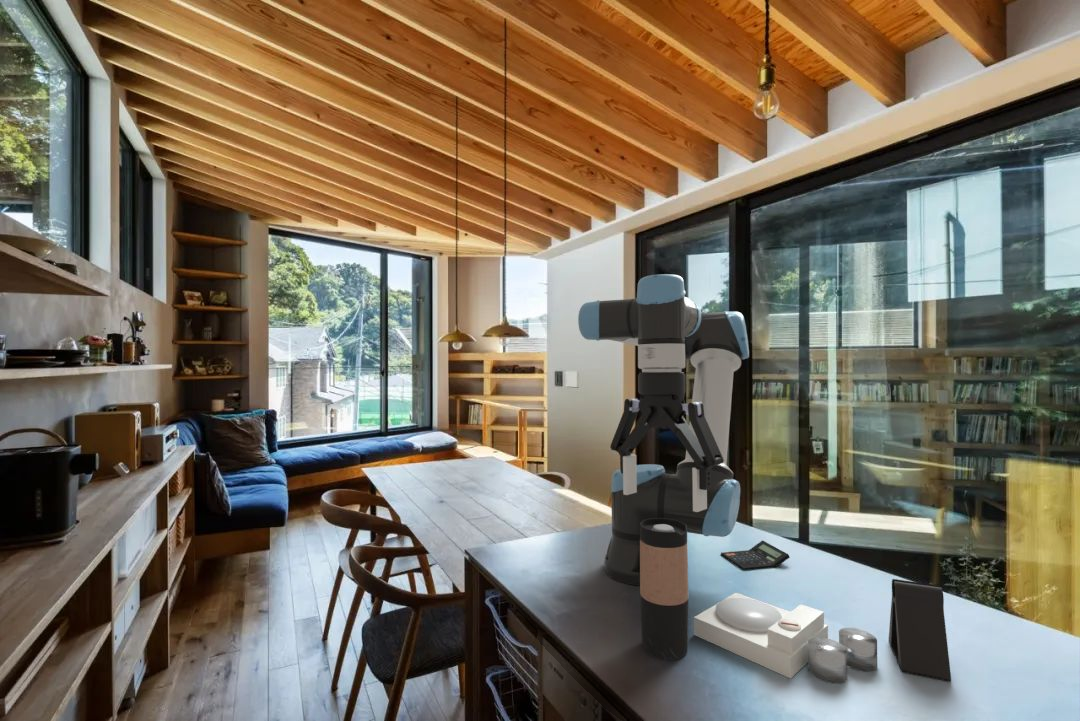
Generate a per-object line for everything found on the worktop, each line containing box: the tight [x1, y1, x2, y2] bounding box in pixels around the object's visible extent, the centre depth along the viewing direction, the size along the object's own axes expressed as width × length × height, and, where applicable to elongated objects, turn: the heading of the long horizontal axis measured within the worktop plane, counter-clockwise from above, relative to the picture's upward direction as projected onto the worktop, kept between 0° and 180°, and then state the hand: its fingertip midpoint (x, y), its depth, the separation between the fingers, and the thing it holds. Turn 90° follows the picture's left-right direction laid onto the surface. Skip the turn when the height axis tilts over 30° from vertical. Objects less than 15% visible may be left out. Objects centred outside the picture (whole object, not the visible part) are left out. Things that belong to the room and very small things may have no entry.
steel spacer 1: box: [807, 637, 848, 684], centre depth 76 cm, size 5×5×4 cm
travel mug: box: [639, 518, 689, 661], centre depth 83 cm, size 8×8×20 cm
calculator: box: [720, 539, 791, 571], centre depth 119 cm, size 9×12×3 cm
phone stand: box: [888, 578, 952, 683], centre depth 78 cm, size 9×6×12 cm, turn 155°
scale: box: [693, 592, 829, 679], centre depth 85 cm, size 16×14×6 cm
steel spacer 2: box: [838, 627, 878, 673], centre depth 78 cm, size 5×5×4 cm
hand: (662, 501), depth 83 cm, fingers open, 13 cm apart
